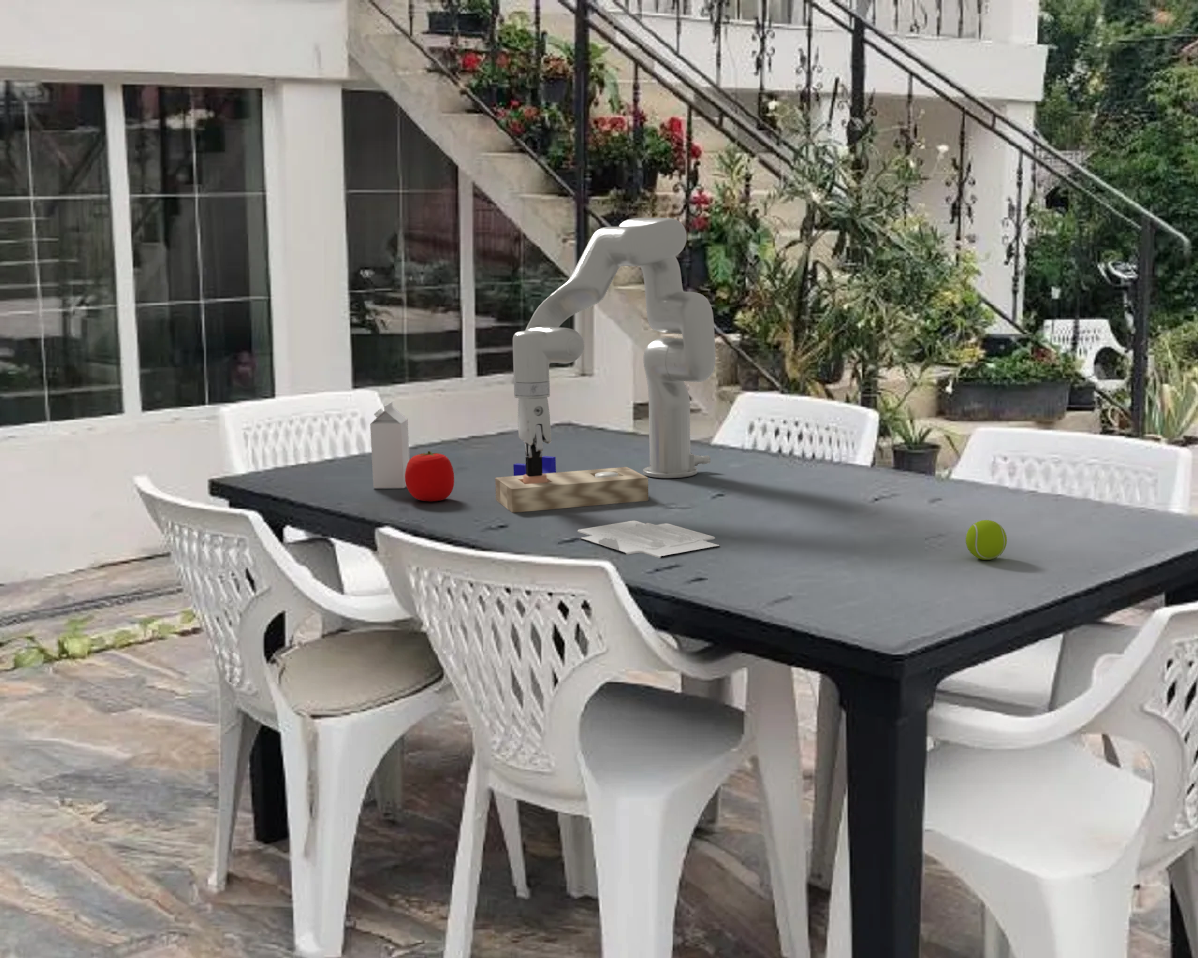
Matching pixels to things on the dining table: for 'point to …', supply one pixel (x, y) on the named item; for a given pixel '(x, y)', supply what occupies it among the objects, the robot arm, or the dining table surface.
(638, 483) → the housing
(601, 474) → the white domed cylinder
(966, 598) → the dining table surface
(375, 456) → the milk carton
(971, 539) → the tennis ball
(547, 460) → the cable clip
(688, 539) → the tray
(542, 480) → the peach rounded piece
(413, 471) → the tomato
